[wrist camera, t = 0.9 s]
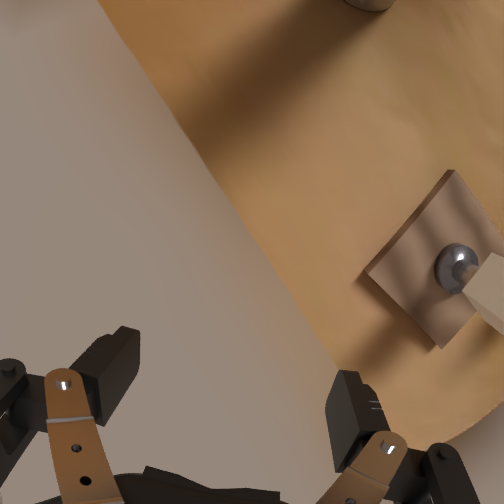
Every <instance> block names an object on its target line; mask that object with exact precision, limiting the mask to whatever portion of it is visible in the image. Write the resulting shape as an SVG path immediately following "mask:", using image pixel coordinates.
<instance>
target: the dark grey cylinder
mask: <svg viewBox="0 0 504 504" xmlns="http://www.w3.org/2000/svg"><path fill="white" fill-rule="evenodd" d="M479 269H480V267H479V262H478V257H477V255H476V253H475V252H474V250H472V249H471V248H469V247H467V246H465V245H462V244H460V243H452V244H449V245H447V246H446V247H444V248H443V249H442V250H441V252H440V253H439V255H438V256H437V259H436V261H435V265H434V275H435V279H436V281H437V283H438V284H439V285H440V286H441V287H442V288H444V289H445V290H446V291H448V292H449V293H452V294H460V293H463V292H462V290H463V288H464V287H465V286H466V285H467V284H468V282H469V281H470V280H471V279H472V277H473V276H474V275H475V274H476V272H477V271H478V270H479Z"/></svg>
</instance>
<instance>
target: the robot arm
mask: <svg viewBox="0 0 504 504" xmlns="http://www.w3.org/2000/svg"><path fill="white" fill-rule="evenodd" d="M345 1H346V2H347V3H349V4H351V5H352V6H355V7H357V8H359V9H362V10H366V11H383V10H386V9H388V8H389V7H390V6H391V5H393V3H394V2H395V1H396V0H345ZM139 365H140V331H139V330H136V329H132V328H128V327H125V326H121V327H120V328H119V329H118V330H117V331H116V332H115V333H114V334H113V335H110V334H106V335H104V336H102V337H100V338H97V339H96V340H95V342H93V343H92V345H91V346H90V347H89V348H88V349H87V350H86V352H84V353H83V354H82V355H81V356H80V357H79V358H78V359H77V360H76V361H75V362H74V363H73V364H72V365H71V366H70V367H69V368H68V369H67V368H59V369H55V370H52V371H50V372H49V373H48V374H47V375H46V376H45V377H43V376H37V375H32V374H27V373H26V368H25V366H24V364H23V363H22V362H21V361H19V360H16V359H11V358H9V359H2V360H0V417H1V416H2V415H3V413H4V412H6V413H5V414H4V415H3V416H2V417H1V419H0V487H1V486H2V484H3V483H4V481H5V480H6V478H7V477H8V475H9V473H10V472H11V470H12V469H13V467H14V466H15V464H16V463H17V461H18V460H19V458H20V457H21V455H22V454H23V452H24V451H25V449H26V447H27V446H28V445H29V443H30V442H31V440H32V439H33V438H34V436H35V435H36V433H37V432H38V431H41V432H46V433H48V436H49V442H50V448H51V454H52V459H53V464H54V469H55V473H56V478H57V482H58V486H59V490H60V494H61V495H60V496H57V497H54V498H51V499H49V500H45V501H43V502H39V503H36V504H288V503H286V502H283V501H280V492H277V491H267V490H258V489H251V488H235V489H211V488H207V487H205V486H203V485H200V484H198V483H196V482H193V481H191V480H189V479H187V478H184V477H182V476H180V475H178V474H174V473H171V472H167V471H163V470H160V469H156V468H153V467H149V466H146V467H145V469H144V472H143V474H141V473H125V474H118V475H114V476H113V474H112V472H111V469H110V466H109V463H108V460H107V458H106V455H105V452H104V449H103V446H102V443H101V440H100V437H99V434H98V431H97V428H96V424H98V425H101V426H103V427H104V426H105V425H106V423H107V421H108V420H109V418H110V416H111V415H112V413H113V412H114V410H115V409H116V407H117V405H118V404H119V402H120V401H121V399H122V397H123V396H124V394H125V393H126V391H127V389H128V388H129V386H130V385H131V383H132V382H133V380H134V379H135V377H136V375H137V373H138V370H139ZM381 408H382V407H381V405H380V403H379V400H378V397H377V395H376V393H375V391H374V390H373V389H372V388H371V387H370V386H369V385H368V384H363V383H362V380H361V378H360V375H359V373H358V372H356V371H347V370H339V371H338V373H337V375H336V378H335V381H334V383H333V386H332V388H331V391H330V393H329V396H328V398H327V401H326V407H325V414H326V419H327V425H328V431H329V437H330V443H331V449H332V454H333V460H334V467H335V472H336V473H342V474H341V475H340V476H339V478H338V479H337V480H336V481H335V482H334V484H333V485H332V486H331V487H330V488H329V490H327V492H326V493H325V494H324V495H323V496H322V497H321V498H320V499H319V501H318V502H317V503H316V504H380V502H381V501H382V499H386V500H391V501H393V502H394V504H480V502H479V499H478V497H477V494H476V492H475V490H474V487H473V485H472V483H471V480H470V478H469V476H468V473H467V471H466V469H465V466H464V464H463V462H462V460H461V458H460V455H459V453H458V452H457V451H456V450H455V449H454V448H453V447H452V446H450V445H448V444H445V443H435V444H432V445H431V446H430V447H429V449H428V450H427V451H426V452H425V451H420V450H415V449H411V448H408V447H407V443H406V441H405V440H404V439H403V438H402V437H401V436H400V435H398V434H396V433H394V432H391V430H390V428H389V425H388V423H387V420H386V418H385V415H384V412H383V410H381ZM431 497H432V500H433V503H432V500H431ZM0 504H2V496H1V493H0Z"/></svg>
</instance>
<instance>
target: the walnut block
mask: <svg viewBox="0 0 504 504" xmlns="http://www.w3.org/2000/svg"><path fill="white" fill-rule="evenodd" d="M452 243H460V244H462V245H465V246H467V247H469V248H471V249H472V250H474V252H475V253H476V255H477V257H478V262H479V267H481V266H482V265H483V263H484V262H485V261H486V259H487V258H488V257H489V255H490V254H491V253H495V254H497V255H499V256H501V257H504V239H503V237H502V236H501V234H500V233H499V231H498V229H497V228H496V226H495V225H494V223H493V222H492V220H491V219H490V217H489V216H488V214H487V213H486V211H485V210H484V208H483V207H482V205H481V204H480V202H479V201H478V200H477V198H476V197H475V195H474V194H473V193H472V191H471V190H470V188H469V187H468V186H467V184H466V183H465V182H464V180H463V179H462V178H461V177H460V175H459V174H458V173H457V171H456V170H447V172H446V173H445V174H444V175H443V177H442V178H441V179H440V181H439V182H438V183H437V184H436V186H435V187H434V188H433V189H432V191H431V192H430V193H429V194H428V196H427V197H426V198H425V199H424V201H423V202H422V203H421V204H420V205H419V207H418V208H417V209H416V210H415V212H414V213H413V214H412V215H411V216H410V217H409V219H408V220H407V221H406V222H405V223H404V225H403V226H402V227H401V228H400V229H399V230H398V232H397V233H396V234H395V235H394V236H393V237H392V238H391V240H390V241H389V242H388V243H387V244H386V245H385V246H384V248H383V249H382V250H381V251H380V252H379V253H378V254H377V255H376V256H375V258H374V259H373V260H372V261H371V262H370V263H369V264H368V265H367V266H366V267H365V269H364V271H365V272H366V273H367V274H368V275H369V276H370V277H371V278H372V279H373V280H374V281H375V282H376V283H377V284H378V285H379V286H380V287H381V288H382V289H383V290H384V291H385V292H386V293H387V294H388V295H389V296H390V297H391V298H392V299H393V300H394V301H395V302H396V303H397V304H398V305H399V306H400V307H401V308H402V309H403V310H404V311H405V312H406V313H407V314H408V315H409V316H410V317H411V318H412V319H413V320H414V321H415V322H416V323H417V324H418V325H419V326H420V327H421V328H422V329H423V330H424V331H425V332H426V333H427V334H428V336H429V337H430V338H431V339H432V340H433V341H434V342H435V343H436V344H437V345H438V346H439V347H440V348H441V349H442V348H443V347H444V346H445V345H446V344H447V343H448V342H449V341H450V340H451V339H452V338H453V337H454V336H455V335H456V334H457V332H458V331H459V330H460V329H461V328H462V327H463V326H464V325H465V324H466V322H467V321H468V320H469V319H470V318H471V317H472V315H473V314H474V313H475V312H476V309H475V308H474V306H473V305H472V304H471V302H470V301H469V300H468V298H467V297H466V296H465V294H464V293H460V294H452V293H449V292H448V291H446V290H445V289H444V288H442V287H441V286H440V285H439V284H438V283H437V281H436V279H435V275H434V265H435V261H436V259H437V256H438V255H439V253H440V252H441V250H442V249H443V248H444V247H446V246H447V245H449V244H452Z"/></svg>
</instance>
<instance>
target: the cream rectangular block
mask: <svg viewBox="0 0 504 504" xmlns="http://www.w3.org/2000/svg"><path fill="white" fill-rule="evenodd" d="M462 292H463V293H464V294H465V296H466V297H467V298H468V300H469V301H470V302H471V304H472V305H473V306H474V308H475V309H476V311H477V312H478V313H479V315H480V316H481V318H482V319H483V320H485V321H486V322H487V323H488V324H490V325H491V326H492V327H493V328H494V329H496V330H497V331H498V332H499V333H501V334H502V335H503V336H504V257H501V256H499V255H497V254H495V253H491V254H490V255H489V257H488V258H487V259H486V261H485V262H484V263H483V265H482V266H481V267H480V269H479V270H478V271H477V272H476V274H475V275H474V276H473V277H472V279H471V280H470V281H469V282H468V284H467V285H466V286H465V287H464V288H463V290H462Z"/></svg>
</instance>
